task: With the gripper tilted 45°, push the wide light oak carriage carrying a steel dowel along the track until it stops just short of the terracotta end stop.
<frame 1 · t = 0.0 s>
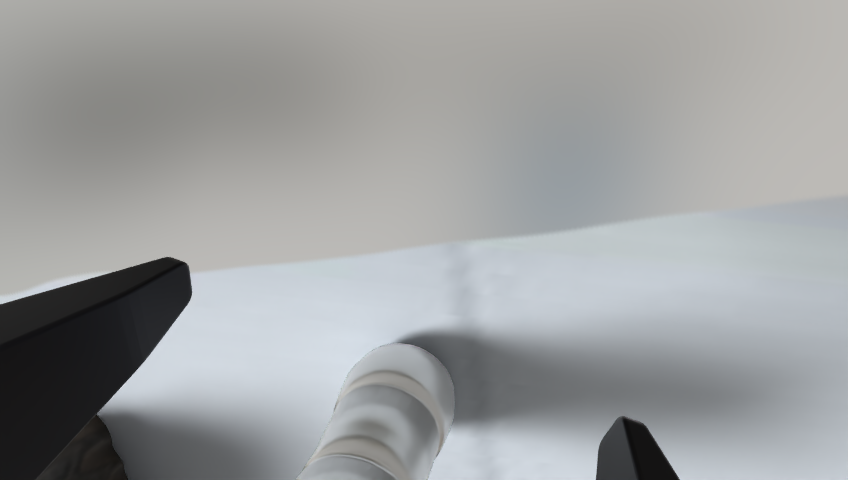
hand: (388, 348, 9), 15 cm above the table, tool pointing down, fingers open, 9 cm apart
brown rock: (87, 474, 37), on the table
plastic bottle: (408, 376, 28), on the table
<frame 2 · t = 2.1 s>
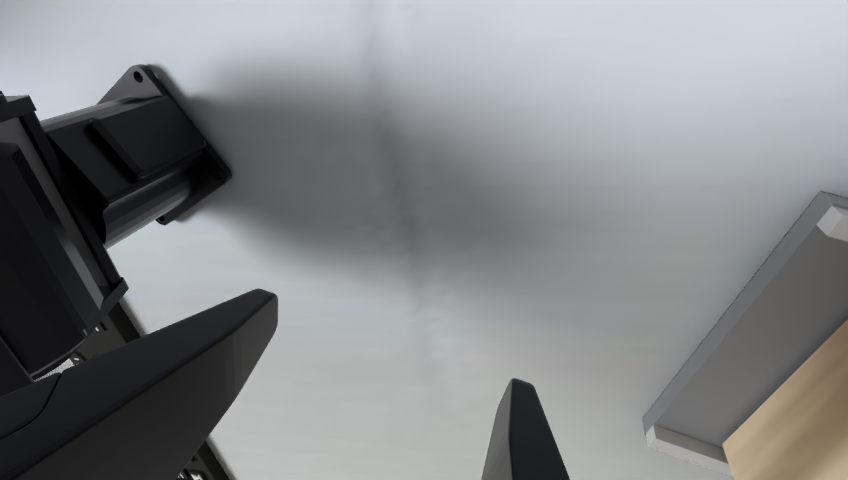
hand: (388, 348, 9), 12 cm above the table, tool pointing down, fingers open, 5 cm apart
remote control: (143, 378, 37), on the table
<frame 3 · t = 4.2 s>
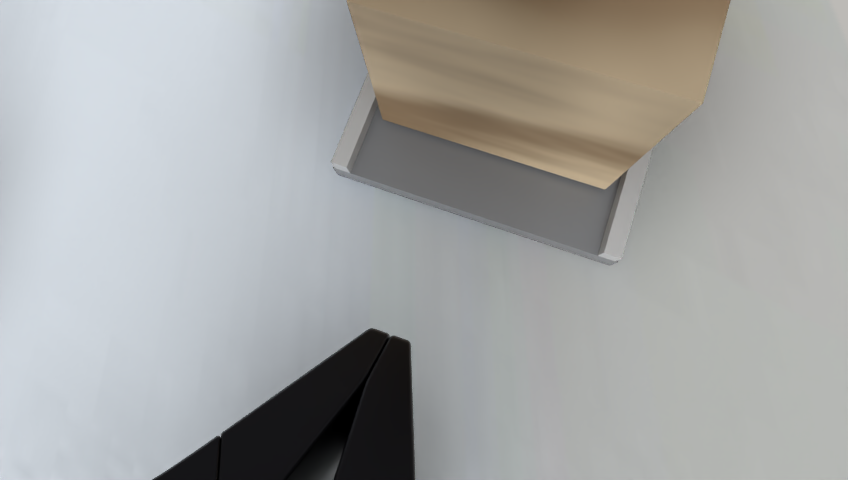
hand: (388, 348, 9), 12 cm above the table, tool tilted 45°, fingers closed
carriage: (529, 24, 16), point 7 cm above the table, slide at 0.0 cm
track: (509, 102, 23), on the table
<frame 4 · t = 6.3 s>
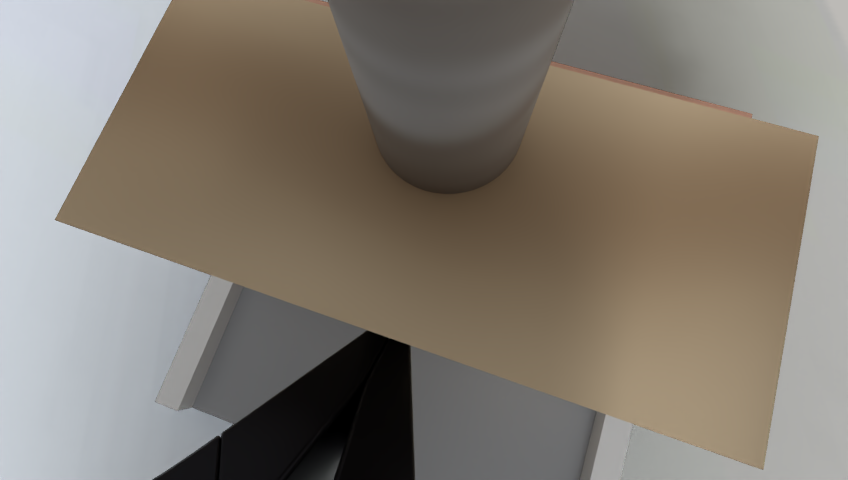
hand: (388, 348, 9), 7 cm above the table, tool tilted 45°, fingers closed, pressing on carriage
carriage: (432, 214, 9), point 7 cm above the table, slide at 1.4 cm, touching gripper
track: (435, 281, 16), on the table
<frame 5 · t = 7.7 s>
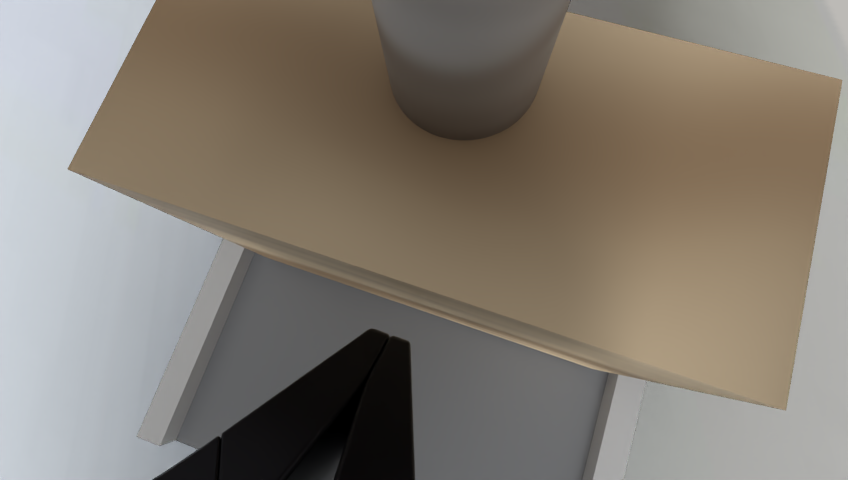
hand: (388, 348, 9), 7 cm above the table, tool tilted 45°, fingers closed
carriage: (445, 172, 9), point 7 cm above the table, slide at 3.3 cm
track: (425, 307, 16), on the table
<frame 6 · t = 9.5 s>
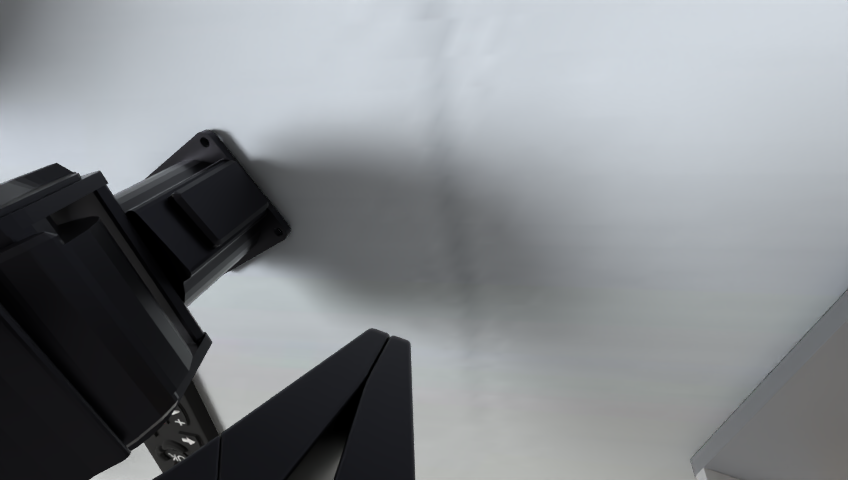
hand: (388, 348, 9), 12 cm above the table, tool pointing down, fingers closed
remote control: (182, 412, 38), on the table
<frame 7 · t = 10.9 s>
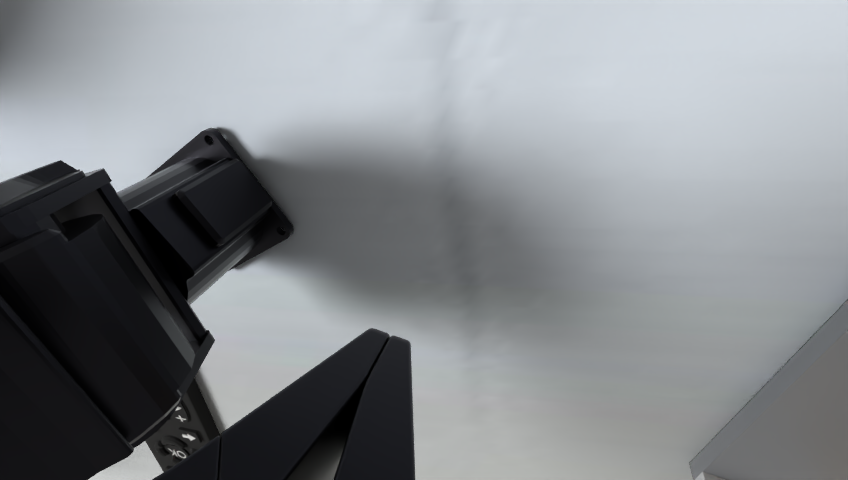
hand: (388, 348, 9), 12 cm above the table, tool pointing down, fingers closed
remote control: (182, 408, 38), on the table
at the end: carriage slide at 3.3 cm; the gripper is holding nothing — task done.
